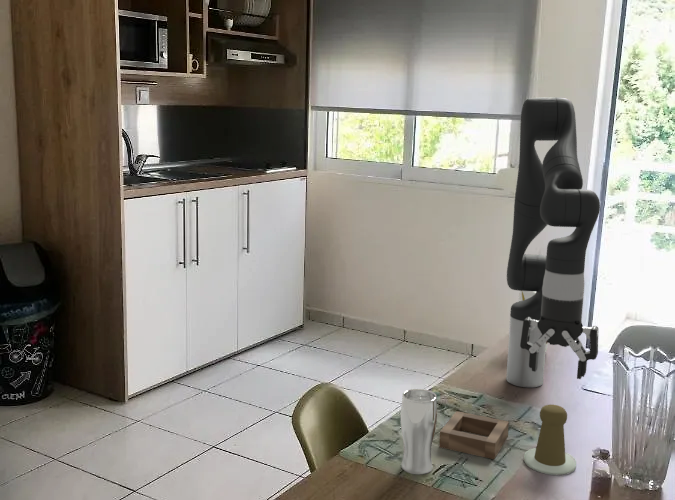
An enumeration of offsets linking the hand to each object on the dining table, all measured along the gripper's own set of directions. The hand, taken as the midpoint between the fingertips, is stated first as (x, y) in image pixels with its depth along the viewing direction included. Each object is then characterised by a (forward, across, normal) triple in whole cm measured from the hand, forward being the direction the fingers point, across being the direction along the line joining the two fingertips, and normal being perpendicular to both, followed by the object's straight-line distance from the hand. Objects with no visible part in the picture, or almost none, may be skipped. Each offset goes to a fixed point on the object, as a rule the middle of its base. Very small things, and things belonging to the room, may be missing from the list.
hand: (556, 373), depth 144 cm
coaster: (+19, 0, 0) cm, 19 cm away
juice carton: (+20, +17, -65) cm, 70 cm away
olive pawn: (+18, 0, 0) cm, 18 cm away
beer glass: (+19, +23, +14) cm, 33 cm away
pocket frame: (+19, +16, -2) cm, 25 cm away
